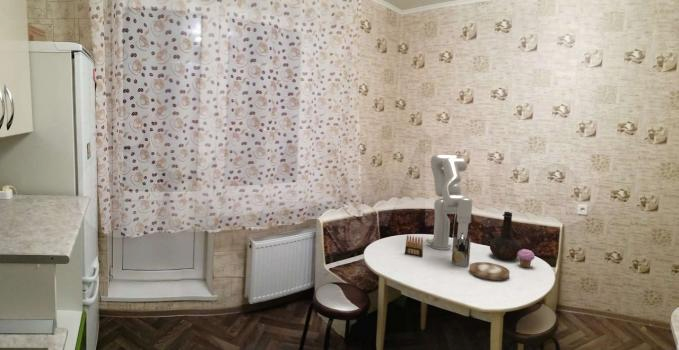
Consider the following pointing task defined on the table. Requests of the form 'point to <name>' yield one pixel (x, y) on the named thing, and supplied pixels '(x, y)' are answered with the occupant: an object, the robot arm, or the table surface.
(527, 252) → the cupcake
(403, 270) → the table surface
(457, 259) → the coffee box
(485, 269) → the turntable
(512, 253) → the dark brown vase
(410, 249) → the ammunition clip
